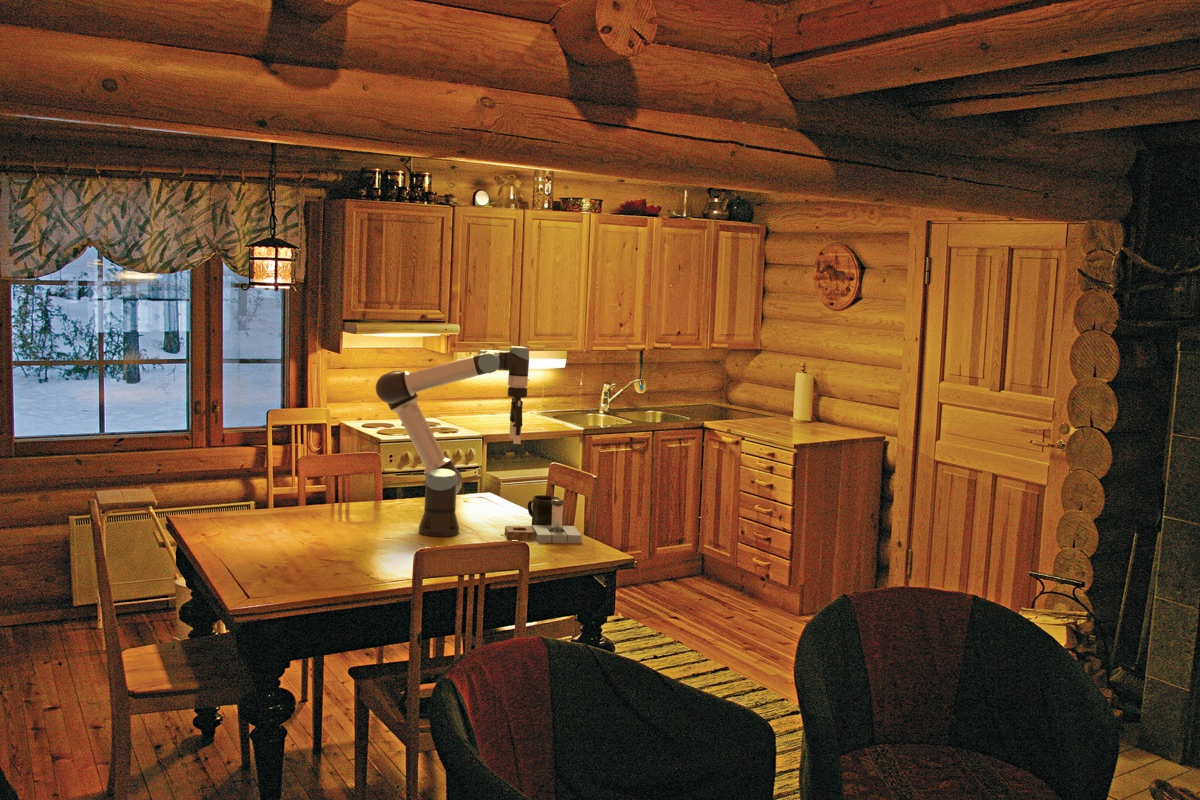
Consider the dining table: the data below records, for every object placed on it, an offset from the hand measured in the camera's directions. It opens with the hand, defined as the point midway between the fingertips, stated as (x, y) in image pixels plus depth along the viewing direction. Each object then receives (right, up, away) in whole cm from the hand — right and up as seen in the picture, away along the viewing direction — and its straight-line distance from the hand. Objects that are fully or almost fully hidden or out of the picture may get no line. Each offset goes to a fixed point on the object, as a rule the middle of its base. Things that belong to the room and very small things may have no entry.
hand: (514, 441), depth 414 cm
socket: (+16, -37, -7) cm, 41 cm away
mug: (+10, -35, +11) cm, 38 cm away
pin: (+16, -37, -7) cm, 41 cm away
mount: (+2, -36, -9) cm, 37 cm away
